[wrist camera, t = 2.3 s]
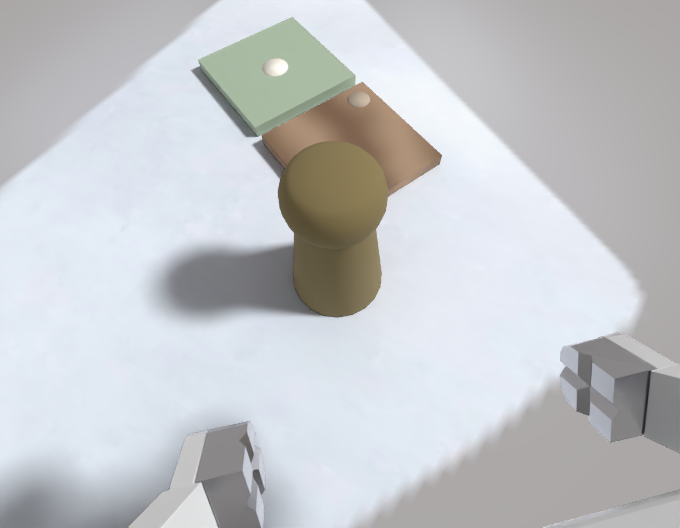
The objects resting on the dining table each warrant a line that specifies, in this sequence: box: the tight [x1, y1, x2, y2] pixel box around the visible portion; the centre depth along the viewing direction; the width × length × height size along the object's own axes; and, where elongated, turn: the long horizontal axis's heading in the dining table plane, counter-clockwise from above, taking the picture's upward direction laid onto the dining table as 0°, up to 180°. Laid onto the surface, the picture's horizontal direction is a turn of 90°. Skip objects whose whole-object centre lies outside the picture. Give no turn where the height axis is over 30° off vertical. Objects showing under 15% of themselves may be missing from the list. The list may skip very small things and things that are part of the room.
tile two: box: [262, 82, 442, 196], centre depth 32 cm, size 10×10×1 cm
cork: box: [278, 141, 388, 317], centre depth 22 cm, size 6×6×11 cm
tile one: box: [198, 17, 355, 136], centre depth 36 cm, size 10×10×1 cm
